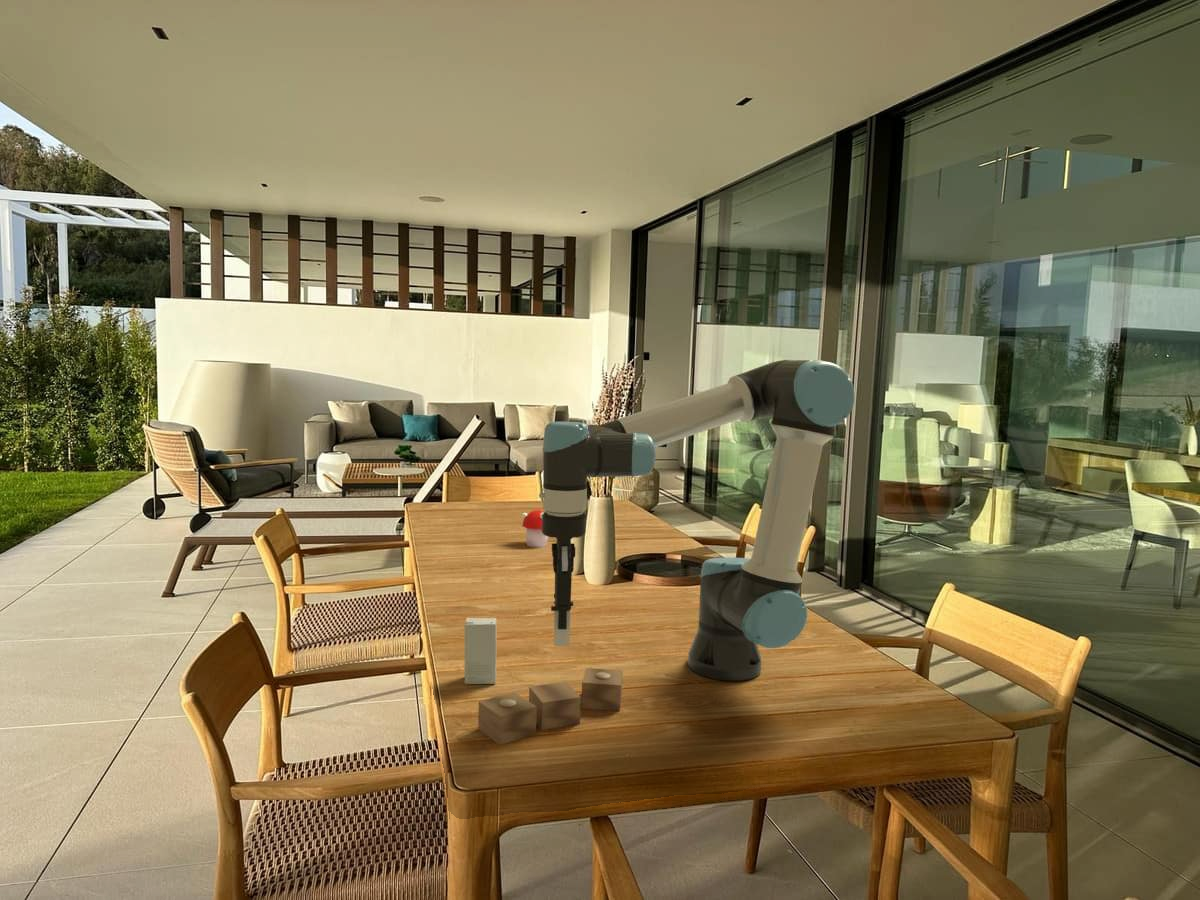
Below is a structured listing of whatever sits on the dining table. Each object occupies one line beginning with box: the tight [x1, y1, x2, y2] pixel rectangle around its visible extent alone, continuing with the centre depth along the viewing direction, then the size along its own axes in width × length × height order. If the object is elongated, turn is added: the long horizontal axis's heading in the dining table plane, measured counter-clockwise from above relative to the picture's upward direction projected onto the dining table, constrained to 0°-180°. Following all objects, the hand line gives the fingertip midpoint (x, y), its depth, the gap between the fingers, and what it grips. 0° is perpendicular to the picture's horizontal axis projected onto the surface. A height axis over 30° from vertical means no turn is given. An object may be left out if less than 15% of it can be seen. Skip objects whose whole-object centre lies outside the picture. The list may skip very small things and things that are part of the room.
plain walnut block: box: [528, 681, 582, 731], centre depth 140 cm, size 7×7×5 cm
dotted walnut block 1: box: [477, 691, 537, 746], centre depth 134 cm, size 7×7×5 cm
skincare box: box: [464, 617, 497, 685], centre depth 154 cm, size 6×4×12 cm
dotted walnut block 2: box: [580, 667, 624, 712], centre depth 148 cm, size 7×7×5 cm
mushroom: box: [521, 509, 549, 548], centre depth 268 cm, size 11×11×12 cm
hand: (561, 644), depth 140 cm, fingers closed
